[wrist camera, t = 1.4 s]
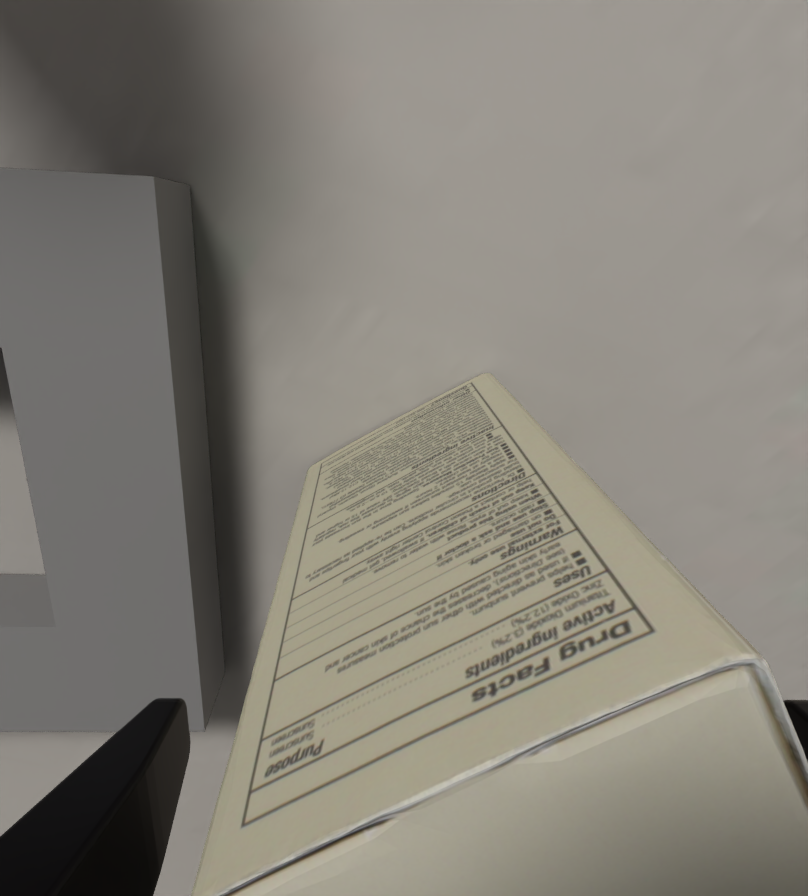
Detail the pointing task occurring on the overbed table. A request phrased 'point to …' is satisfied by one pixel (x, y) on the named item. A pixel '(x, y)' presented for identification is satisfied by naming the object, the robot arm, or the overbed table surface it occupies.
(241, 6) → the overbed table surface
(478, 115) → the overbed table surface
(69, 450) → the socket holder
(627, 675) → the skincare box
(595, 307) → the overbed table surface
